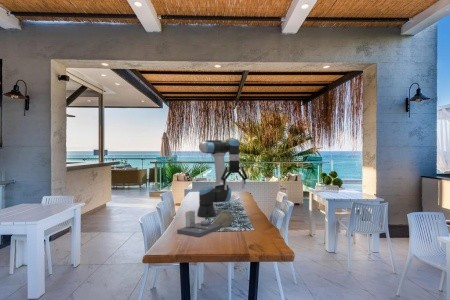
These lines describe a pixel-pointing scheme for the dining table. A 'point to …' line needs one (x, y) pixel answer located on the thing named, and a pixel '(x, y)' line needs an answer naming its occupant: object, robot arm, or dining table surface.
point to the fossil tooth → (223, 219)
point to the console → (199, 229)
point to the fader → (190, 219)
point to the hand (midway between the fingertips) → (234, 189)
